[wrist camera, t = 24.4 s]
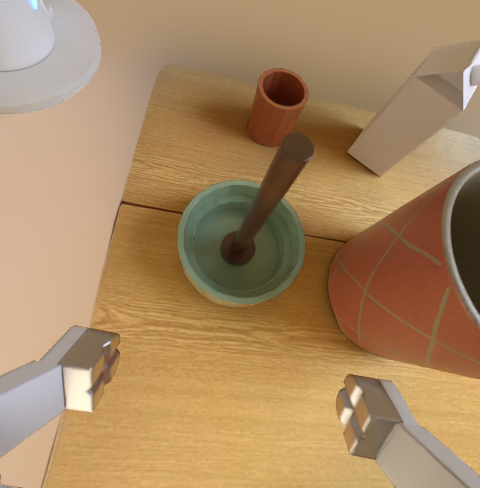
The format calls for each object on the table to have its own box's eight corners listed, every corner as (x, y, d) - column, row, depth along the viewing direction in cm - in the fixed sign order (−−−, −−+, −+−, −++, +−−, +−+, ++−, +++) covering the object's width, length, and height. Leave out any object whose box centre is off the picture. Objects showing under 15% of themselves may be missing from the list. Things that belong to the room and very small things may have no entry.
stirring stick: (213, 253, 36) (244, 150, 15) (232, 227, 38) (284, 101, 16) (242, 273, 36) (314, 196, 15) (259, 246, 37) (347, 142, 16)
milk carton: (345, 152, 46) (444, 42, 28) (363, 128, 48) (465, 12, 30) (379, 177, 46) (501, 82, 28) (396, 152, 48) (517, 48, 30)
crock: (238, 130, 44) (248, 89, 36) (261, 103, 46) (274, 60, 38) (275, 154, 43) (293, 118, 36) (296, 126, 46) (316, 87, 38)
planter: (445, 369, 38) (699, 413, 19) (317, 355, 35) (462, 388, 16) (430, 242, 44) (612, 177, 25) (320, 222, 41) (428, 134, 22)
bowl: (155, 264, 35) (148, 252, 29) (220, 182, 40) (225, 158, 35) (253, 330, 35) (265, 331, 29) (306, 239, 40) (325, 224, 34)
